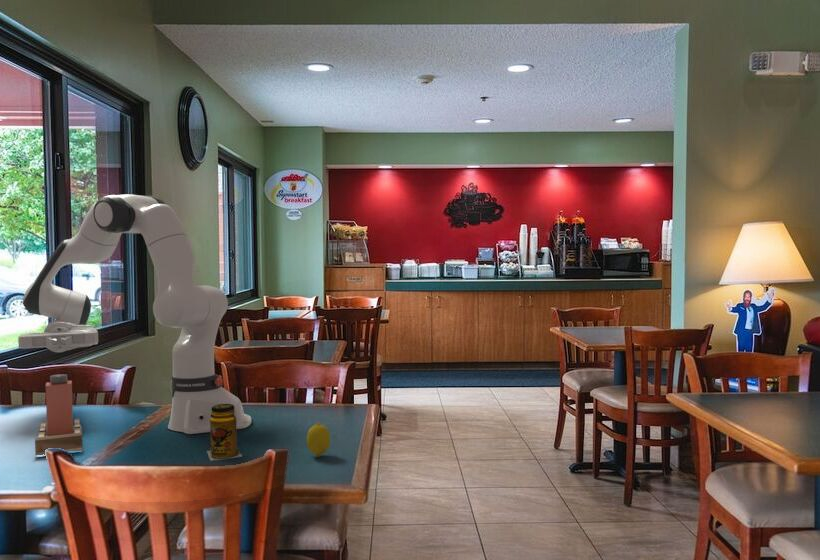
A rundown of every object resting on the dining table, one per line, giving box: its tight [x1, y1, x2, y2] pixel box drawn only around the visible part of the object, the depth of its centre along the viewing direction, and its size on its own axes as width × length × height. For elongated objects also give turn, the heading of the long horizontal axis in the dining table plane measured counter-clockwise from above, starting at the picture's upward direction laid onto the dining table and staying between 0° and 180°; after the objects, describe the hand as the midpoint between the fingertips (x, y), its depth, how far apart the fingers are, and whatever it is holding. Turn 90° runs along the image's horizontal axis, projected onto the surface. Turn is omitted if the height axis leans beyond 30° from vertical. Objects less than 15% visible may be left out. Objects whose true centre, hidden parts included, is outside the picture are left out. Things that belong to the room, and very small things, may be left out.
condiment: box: [206, 404, 243, 462], centre depth 163 cm, size 7×8×12 cm
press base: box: [34, 418, 83, 456], centre depth 175 cm, size 24×10×4 cm, turn 26°
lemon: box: [306, 422, 331, 458], centre depth 161 cm, size 6×6×8 cm
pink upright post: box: [45, 373, 74, 436], centre depth 180 cm, size 5×6×15 cm
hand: (58, 342), depth 189 cm, fingers closed
